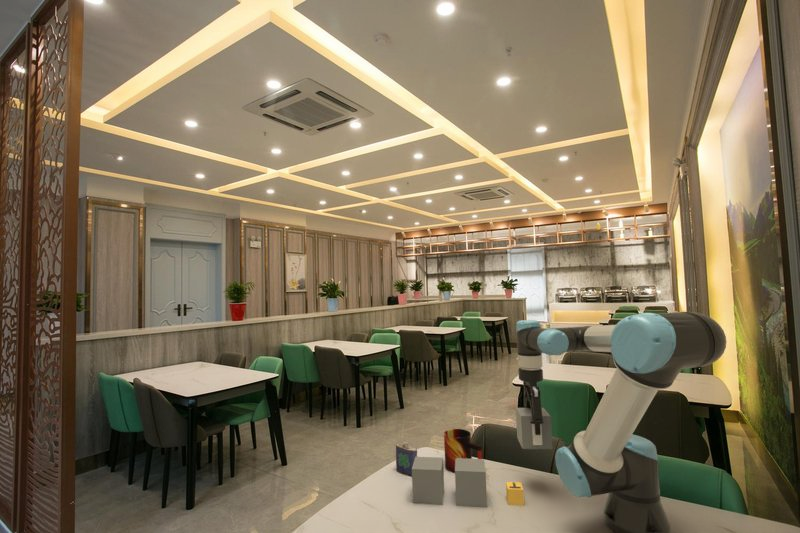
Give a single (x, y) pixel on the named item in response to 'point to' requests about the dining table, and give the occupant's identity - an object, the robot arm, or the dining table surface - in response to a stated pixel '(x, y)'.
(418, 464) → the large plain grey block
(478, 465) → the pale gray cube
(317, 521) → the dining table surface
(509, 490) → the letter cube
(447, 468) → the mug
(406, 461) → the flask
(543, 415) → the pale grey cube
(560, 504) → the dining table surface
